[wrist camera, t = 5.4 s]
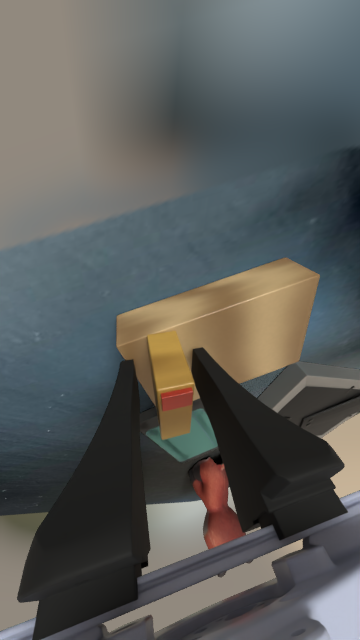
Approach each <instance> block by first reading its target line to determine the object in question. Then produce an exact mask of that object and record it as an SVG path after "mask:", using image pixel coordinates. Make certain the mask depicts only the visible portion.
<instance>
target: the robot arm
mask: <svg viewBox="0 0 360 640" xmlns="http://www.w3.org/2000/svg"><path fill="white" fill-rule="evenodd" d="M191 372H192V376H193V379H194V382H195V386H196V389H197V392H198V394H199V396H200V399H201V401H202V404H203V406H204V409H205V411H206V413H207V416H208V418H209V421H210V423H211V426H212V429H213V431H214V435H215V438H216V441H217V444H218V447H219V451H220V454H221V457H222V461H223V464H224V468H225V471H226V475H227V478H228V482H229V485H230V489H231V493H232V497H233V501H234V504H235V508H236V512H237V516H238V520H239V523H240V526H241V529H242V532H243V533H245V532H247V531H250V530H253V529H255V528H258V527H260V526H261V529H260V530H257V531H255V532H252V533H250V534H247V535H245V536H242V537H240V538H237V539H234V540H232V541H229V542H227V543H224V544H222V545H219V546H217V547H214V548H211V549H209V550H206V551H204V552H201V553H199V554H197V555H194V556H191V557H189V558H186V559H184V560H181V561H178V562H176V563H173V564H171V565H168V566H166V567H163V568H160V569H158V570H155V571H153V572H150V573H148V574H145V575H143V576H142V571H141V569H142V568H144V567H147V566H148V556H147V555H148V553H149V551H150V540H149V531H148V521H147V513H146V502H145V492H144V482H143V472H142V461H141V451H140V399H139V390H138V381H137V376H136V371H135V366H134V360H133V359H132V360H126V361H122V362H121V363H120V368H119V372H118V376H117V380H116V383H115V386H114V389H113V392H112V395H111V398H110V401H109V403H108V406H107V408H106V411H105V413H104V416H103V418H102V420H101V422H100V425H99V427H98V429H97V431H96V433H95V435H94V437H93V439H92V441H91V443H90V445H89V447H88V449H87V451H86V452H85V454H84V456H83V458H82V460H81V461H80V463H79V465H78V467H77V468H76V470H75V472H74V473H73V475H72V477H71V478H70V480H69V482H68V483H67V485H66V487H65V488H64V490H63V491H62V493H61V495H60V496H59V498H58V499H57V501H56V502H55V504H54V505H53V507H52V508H51V510H50V511H49V513H48V514H47V516H46V517H45V519H44V520H43V522H42V523H41V525H40V526H39V528H38V529H37V531H36V534H35V536H34V539H33V541H32V544H31V547H30V550H29V553H28V556H27V560H26V562H25V566H24V570H23V575H22V579H21V583H20V588H19V592H18V597H17V600H18V601H19V602H31V601H39V605H38V611H37V616H36V618H33V619H30V620H28V621H25V622H23V623H20V624H18V625H15V626H13V627H10V628H8V629H5V630H2V631H0V640H360V490H359V491H357V492H354V493H352V494H349V495H347V496H344V497H342V498H339V497H338V496H337V495H336V493H335V492H334V490H333V489H335V488H336V487H335V485H334V484H333V482H332V481H331V479H330V478H331V477H332V476H334V475H335V474H336V473H338V472H339V471H341V470H342V469H343V468H344V463H343V462H342V460H341V459H340V458H339V456H338V455H337V454H336V452H335V451H334V450H333V449H332V447H331V446H330V445H329V444H328V443H327V442H326V441H325V440H323V439H321V438H319V437H318V436H316V435H314V434H312V433H310V432H308V431H306V430H304V429H303V428H301V427H299V426H298V425H296V424H294V423H293V422H291V421H289V420H288V419H286V418H284V417H283V416H281V415H280V414H278V413H277V412H275V411H274V410H272V409H271V408H269V407H268V406H266V405H265V404H264V403H262V402H261V401H260V400H258V399H257V398H256V397H254V396H253V395H252V394H251V393H249V392H248V391H247V390H246V389H244V388H243V387H242V386H241V385H240V384H239V383H238V382H236V381H235V380H234V379H233V378H232V377H231V376H230V375H229V374H228V373H227V372H226V371H225V370H224V369H223V368H222V367H221V366H220V365H219V364H218V363H217V362H216V361H215V360H214V359H213V358H212V357H211V356H210V354H209V353H208V352H207V351H206V350H205V349H204V348H203V347H201V348H195V349H193V353H192V367H191ZM303 538H304V539H303ZM301 539H303V548H302V549H301V550H298V551H295V552H292V553H290V554H287V555H285V556H283V557H281V558H279V559H277V560H275V561H273V562H272V567H273V569H274V573H275V575H276V578H275V579H272V580H270V581H268V582H265V583H263V584H260V585H258V586H255V587H253V588H251V589H248V590H246V591H244V592H241V593H238V594H236V595H234V596H231V597H229V598H227V599H224V600H222V601H220V602H217V603H215V604H213V605H211V606H209V607H206V608H204V609H202V610H200V611H198V612H196V613H194V614H192V615H190V616H188V617H186V618H183V619H181V620H179V621H177V622H175V623H173V624H171V625H169V626H167V627H165V628H163V629H161V630H159V631H157V632H155V633H154V629H153V617H152V616H151V615H148V616H145V617H143V618H140V619H137V620H135V621H133V622H130V623H128V624H125V625H124V626H121V627H119V628H117V629H115V630H113V631H111V632H110V633H109V632H108V631H107V629H106V626H105V625H104V624H102V623H104V622H106V621H109V620H111V619H114V618H116V617H118V616H121V615H123V614H125V613H128V612H130V611H133V610H135V609H137V608H140V607H142V606H145V605H147V604H149V603H151V602H153V601H156V600H159V599H161V598H163V597H166V596H168V595H171V594H173V593H175V592H178V591H180V590H182V589H185V588H187V587H189V586H192V585H194V584H197V583H199V582H201V581H203V580H206V579H208V578H211V577H213V576H215V575H218V574H220V573H223V572H225V571H227V570H229V569H232V568H234V567H237V566H239V565H241V564H244V563H246V562H249V561H251V560H253V559H256V558H258V557H260V556H263V555H265V554H267V553H270V552H272V551H274V550H277V549H279V548H282V547H284V546H286V545H289V544H291V543H293V542H296V541H298V540H301Z"/></svg>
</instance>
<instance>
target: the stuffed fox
mask: <svg viewBox="0 0 360 640" xmlns="http://www.w3.org/2000/svg"><path fill="white" fill-rule="evenodd" d="M222 463H223V461H222V457H220V458H219V460H218V461H217V465H216V463H214V461H213V459H211V458H210V457H209V459H207V460H202V461H199V462H198V463H197V464H195V465H194V467H193V469H191V470H189V477H190V481H191V483H192V485H193V487H194V489H195V491H196V493H197V495H198V496H199V497H200V498H201V499H202V501H203V503H204V505H205V507H206V508H207V513H206V516H205V521H204V526H203V534H204V539H205V542H206V544H207V546H208V549H211V548H214V547H217V546H219V545H222V544H224V543H227V542H229V541H232V540H234V539H237V538H240V537H242V536H245V535H246V533H243V532H242V529H241V526H240V523H239V520H238V516H237V514H236V513H235V512H234V511H233V510H232V509H231V508H230V507H229V506H228V504H227V502H228V484H229V482H228V478H227V475H226V471H225V468H224V464H222ZM221 464H222V465H221ZM252 561H253V560H251V561H249V562H246V563H251V562H252ZM225 573H226V571H225V572H223V573H220V574H218V577H223V576H224V575H225Z"/></svg>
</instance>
